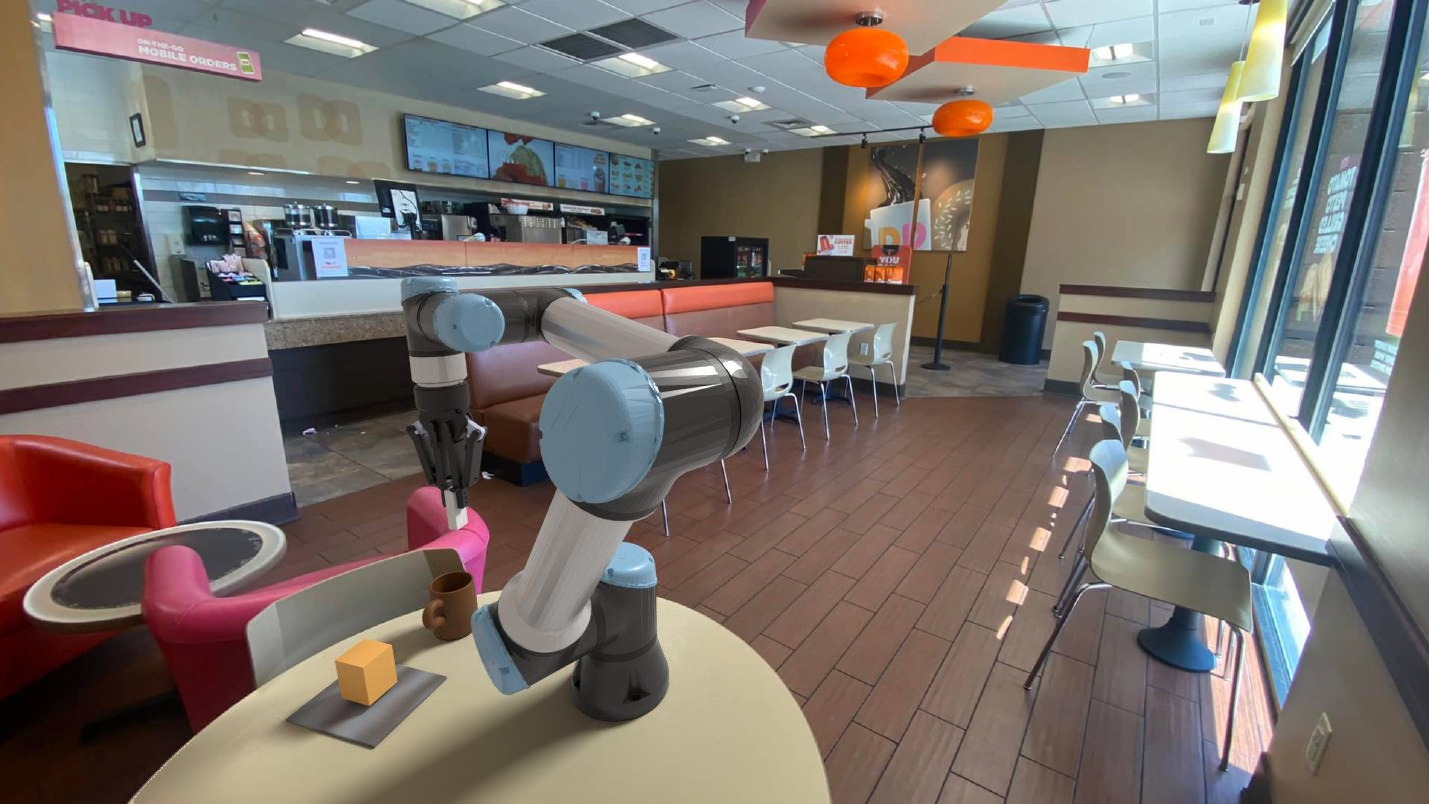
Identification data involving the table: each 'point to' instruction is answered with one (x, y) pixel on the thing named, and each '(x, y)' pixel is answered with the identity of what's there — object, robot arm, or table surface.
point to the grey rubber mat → (367, 708)
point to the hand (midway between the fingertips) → (458, 525)
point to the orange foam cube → (366, 671)
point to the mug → (451, 605)
